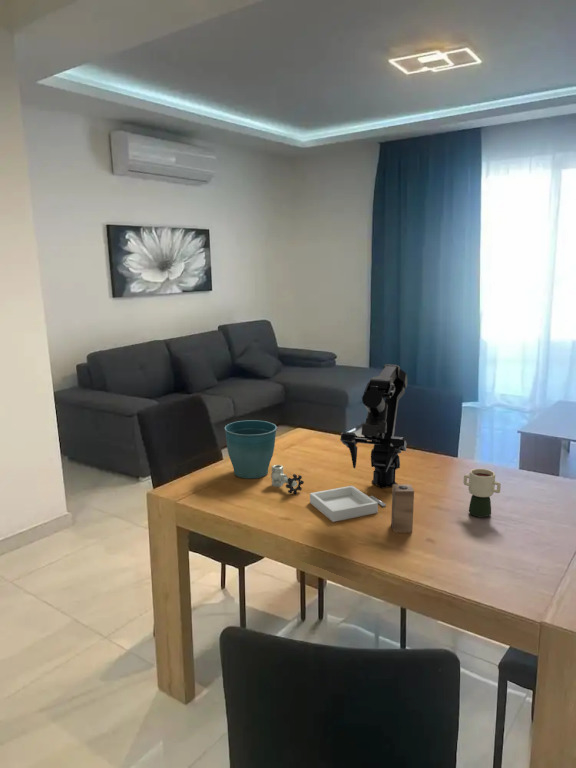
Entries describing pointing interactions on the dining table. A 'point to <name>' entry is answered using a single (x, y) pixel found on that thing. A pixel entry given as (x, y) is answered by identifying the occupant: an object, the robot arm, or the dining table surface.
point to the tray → (343, 503)
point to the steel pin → (378, 501)
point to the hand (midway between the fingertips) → (369, 469)
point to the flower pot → (250, 447)
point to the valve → (285, 479)
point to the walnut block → (402, 507)
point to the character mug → (481, 491)
